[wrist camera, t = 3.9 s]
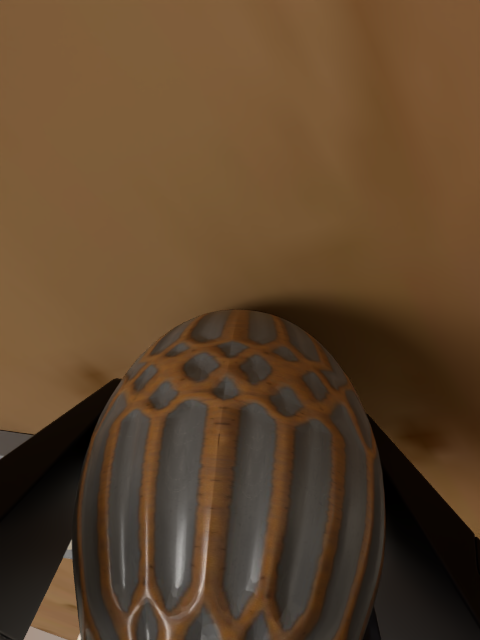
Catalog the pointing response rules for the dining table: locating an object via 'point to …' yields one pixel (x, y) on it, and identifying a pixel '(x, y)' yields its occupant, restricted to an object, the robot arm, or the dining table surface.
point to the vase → (230, 492)
